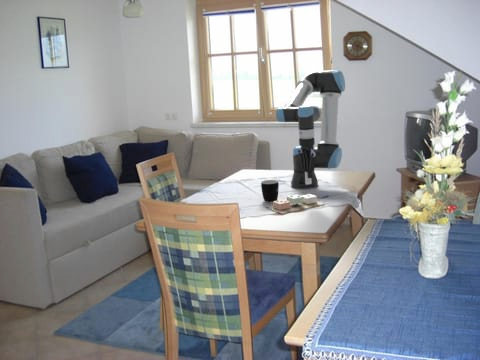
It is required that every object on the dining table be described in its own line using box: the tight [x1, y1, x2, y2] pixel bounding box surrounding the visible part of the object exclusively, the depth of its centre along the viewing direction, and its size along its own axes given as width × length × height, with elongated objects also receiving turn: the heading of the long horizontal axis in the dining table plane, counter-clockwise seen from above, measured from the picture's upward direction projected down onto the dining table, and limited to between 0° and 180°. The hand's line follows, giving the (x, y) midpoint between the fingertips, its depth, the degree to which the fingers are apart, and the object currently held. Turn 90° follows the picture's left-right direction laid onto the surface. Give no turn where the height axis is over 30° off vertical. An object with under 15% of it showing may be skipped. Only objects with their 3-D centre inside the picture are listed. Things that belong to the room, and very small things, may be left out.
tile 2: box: [286, 194, 304, 205], centre depth 278 cm, size 6×6×3 cm
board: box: [267, 200, 325, 215], centre depth 279 cm, size 25×14×1 cm, turn 118°
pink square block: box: [272, 198, 290, 210], centre depth 274 cm, size 6×6×3 cm
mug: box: [260, 179, 280, 203], centre depth 292 cm, size 12×9×10 cm
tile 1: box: [302, 193, 318, 204], centre depth 282 cm, size 6×6×3 cm
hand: (308, 183), depth 280 cm, fingers closed
